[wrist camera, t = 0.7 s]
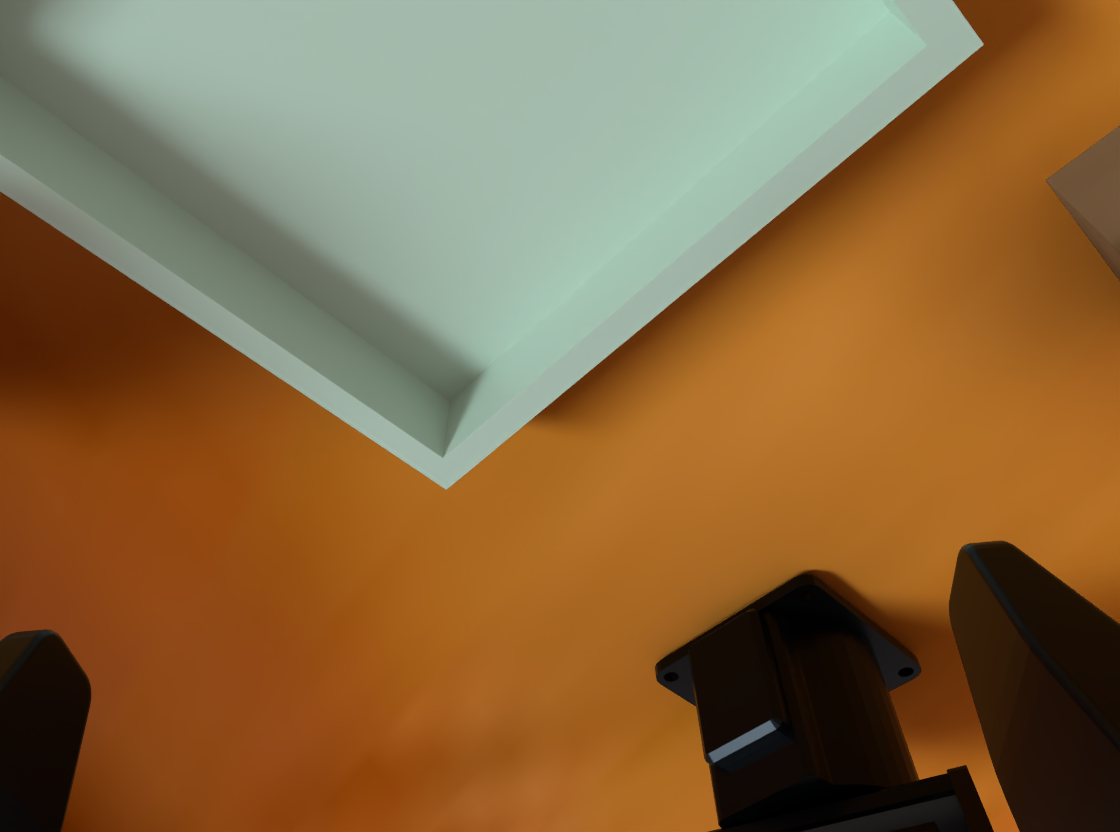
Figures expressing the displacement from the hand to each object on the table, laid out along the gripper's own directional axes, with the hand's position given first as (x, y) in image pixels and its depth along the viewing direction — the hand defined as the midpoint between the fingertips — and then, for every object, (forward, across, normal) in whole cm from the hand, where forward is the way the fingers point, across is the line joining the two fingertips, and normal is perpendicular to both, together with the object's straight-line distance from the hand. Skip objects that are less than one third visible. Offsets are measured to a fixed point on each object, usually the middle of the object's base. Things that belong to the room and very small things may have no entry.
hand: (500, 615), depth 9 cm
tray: (+14, +2, -3) cm, 14 cm away
